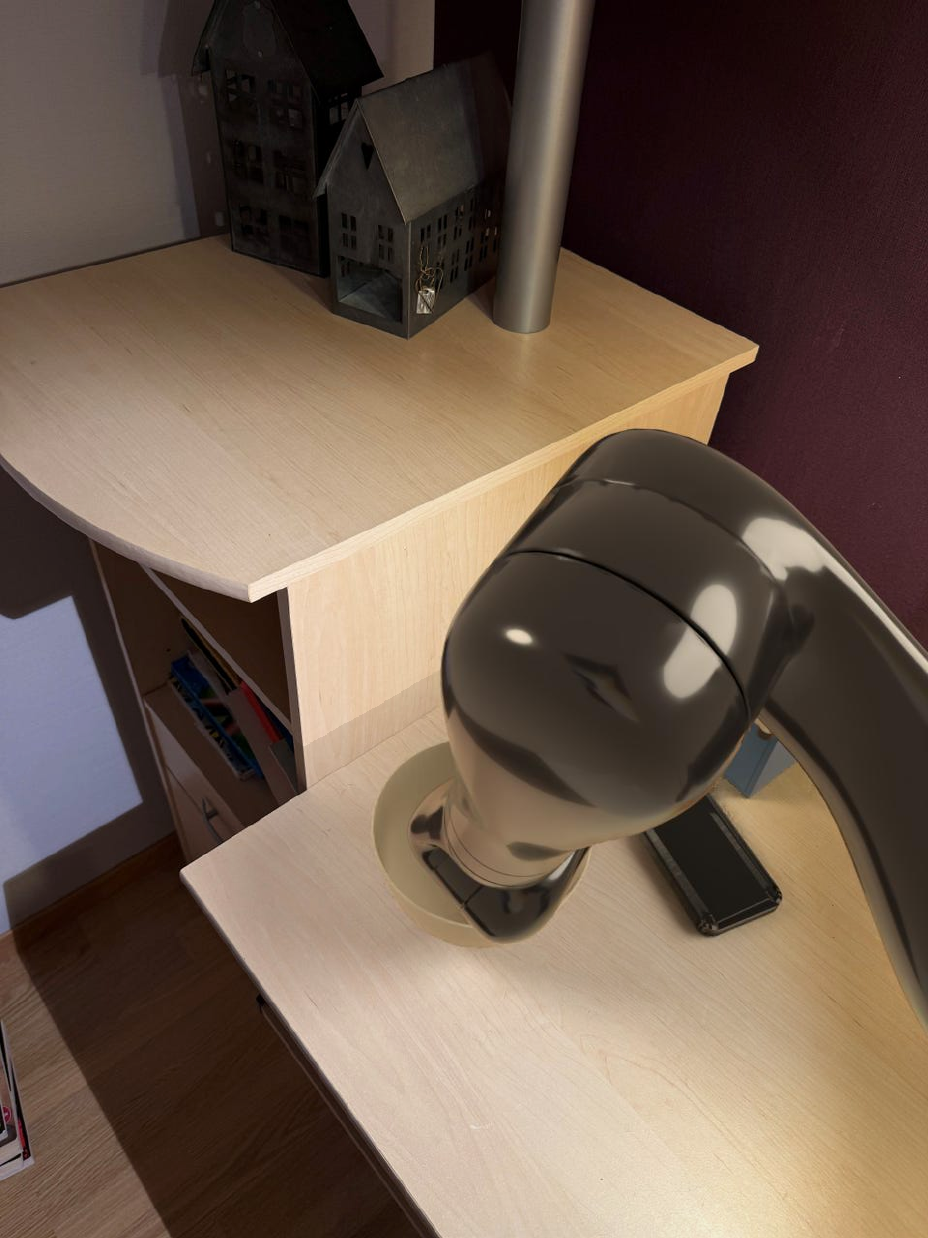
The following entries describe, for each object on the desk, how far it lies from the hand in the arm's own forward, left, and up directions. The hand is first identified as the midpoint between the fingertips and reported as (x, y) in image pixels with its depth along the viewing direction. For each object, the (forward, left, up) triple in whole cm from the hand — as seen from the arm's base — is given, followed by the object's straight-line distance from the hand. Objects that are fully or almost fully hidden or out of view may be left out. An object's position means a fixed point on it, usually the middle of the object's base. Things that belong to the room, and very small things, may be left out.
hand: (767, 615), depth 74 cm
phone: (-7, +10, -17) cm, 21 cm away
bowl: (+1, +28, -17) cm, 33 cm away
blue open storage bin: (0, -3, -17) cm, 17 cm away
